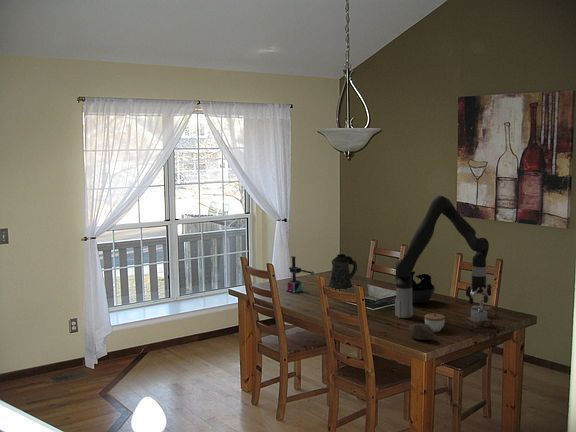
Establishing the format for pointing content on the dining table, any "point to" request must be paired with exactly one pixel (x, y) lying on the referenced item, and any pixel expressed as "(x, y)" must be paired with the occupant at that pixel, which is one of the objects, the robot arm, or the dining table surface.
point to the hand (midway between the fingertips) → (478, 303)
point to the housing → (478, 314)
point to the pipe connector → (482, 305)
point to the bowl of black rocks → (422, 289)
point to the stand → (478, 323)
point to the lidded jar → (435, 321)
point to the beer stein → (342, 272)
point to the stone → (421, 331)
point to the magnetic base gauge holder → (295, 284)
